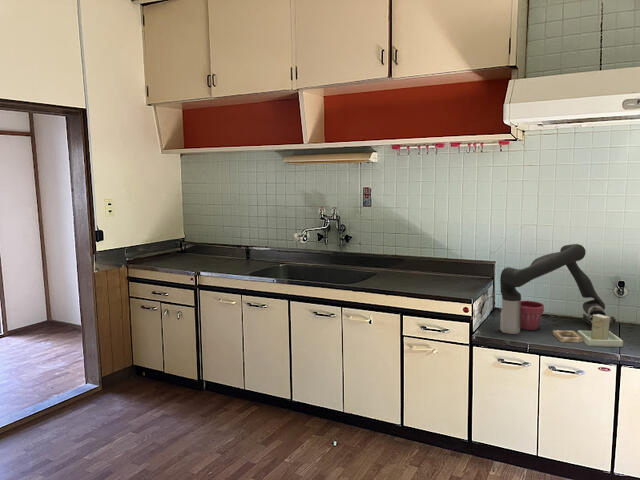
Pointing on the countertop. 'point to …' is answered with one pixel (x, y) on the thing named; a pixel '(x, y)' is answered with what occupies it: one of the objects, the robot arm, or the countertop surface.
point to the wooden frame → (567, 339)
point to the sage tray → (611, 342)
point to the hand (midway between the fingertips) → (600, 323)
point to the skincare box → (600, 327)
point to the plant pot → (530, 314)
